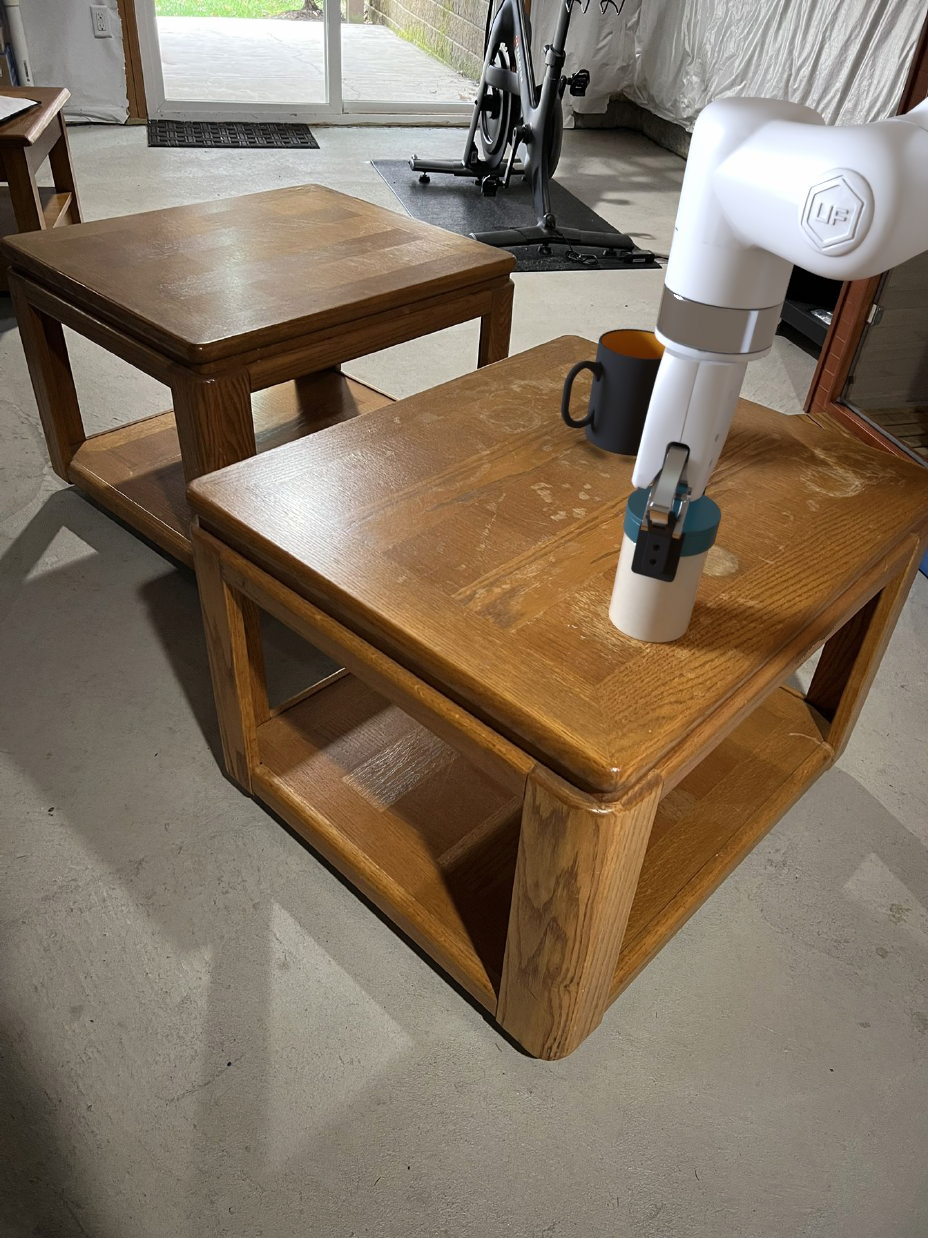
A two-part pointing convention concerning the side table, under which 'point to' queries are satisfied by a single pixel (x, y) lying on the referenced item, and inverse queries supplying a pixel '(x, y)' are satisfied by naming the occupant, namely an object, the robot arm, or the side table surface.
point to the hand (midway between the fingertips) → (664, 548)
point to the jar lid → (698, 520)
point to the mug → (618, 389)
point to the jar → (654, 598)
